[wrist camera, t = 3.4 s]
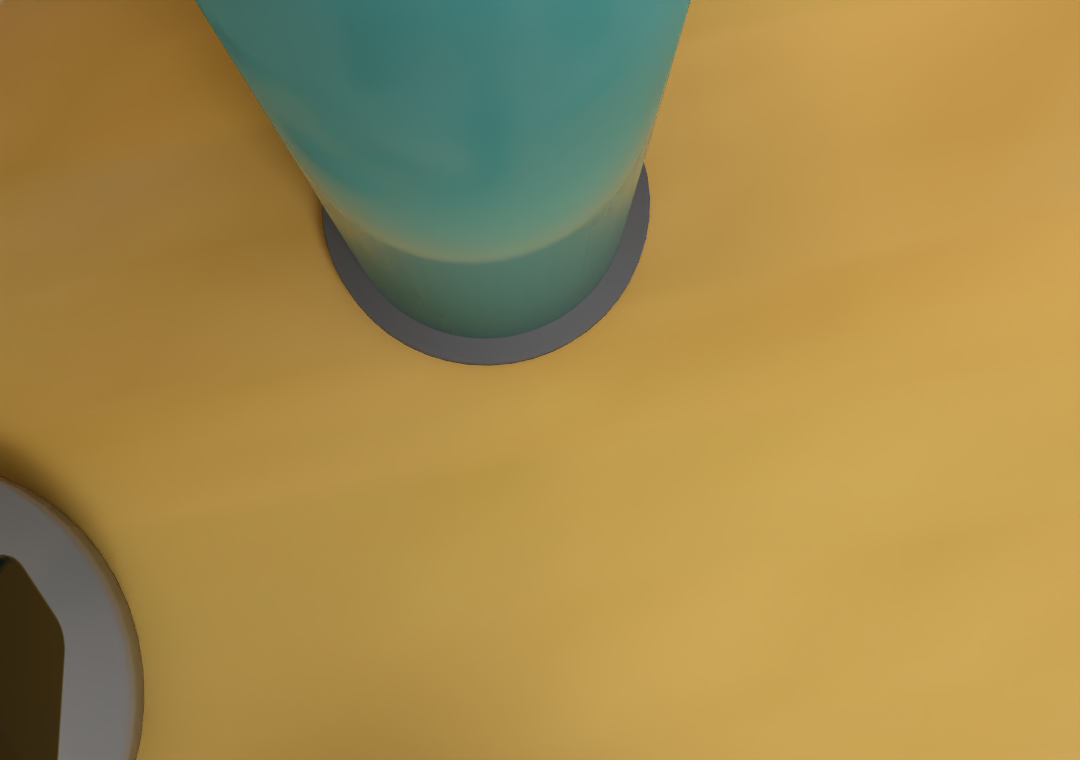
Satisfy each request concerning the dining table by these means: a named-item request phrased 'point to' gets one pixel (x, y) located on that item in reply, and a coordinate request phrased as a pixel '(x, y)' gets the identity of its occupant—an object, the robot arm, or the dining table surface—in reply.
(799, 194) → the dining table surface
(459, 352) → the coaster
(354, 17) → the teal rounded block
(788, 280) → the dining table surface
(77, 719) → the plate
